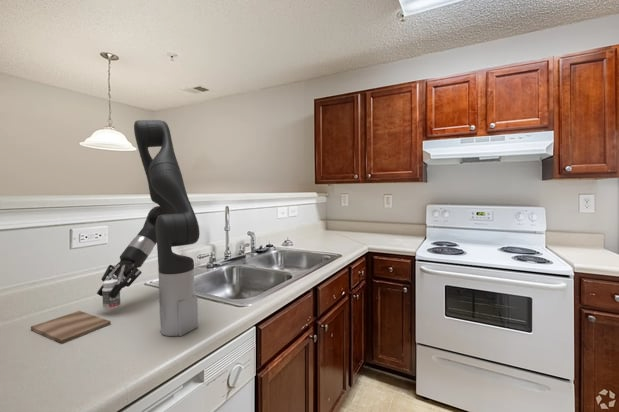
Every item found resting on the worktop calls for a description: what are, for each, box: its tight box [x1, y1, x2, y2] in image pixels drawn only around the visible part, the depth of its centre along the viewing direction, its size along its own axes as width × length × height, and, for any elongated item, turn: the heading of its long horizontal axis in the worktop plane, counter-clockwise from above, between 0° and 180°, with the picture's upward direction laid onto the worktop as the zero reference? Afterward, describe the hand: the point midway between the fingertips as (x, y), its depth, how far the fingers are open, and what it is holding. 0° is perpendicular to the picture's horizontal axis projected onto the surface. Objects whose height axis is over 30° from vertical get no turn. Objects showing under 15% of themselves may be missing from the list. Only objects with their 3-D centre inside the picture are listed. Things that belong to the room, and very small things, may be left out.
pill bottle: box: [101, 279, 122, 310], centre depth 93 cm, size 5×5×8 cm
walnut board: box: [30, 310, 112, 344], centre depth 84 cm, size 17×12×1 cm
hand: (105, 295), depth 92 cm, fingers closed on pill bottle, 4 cm apart
